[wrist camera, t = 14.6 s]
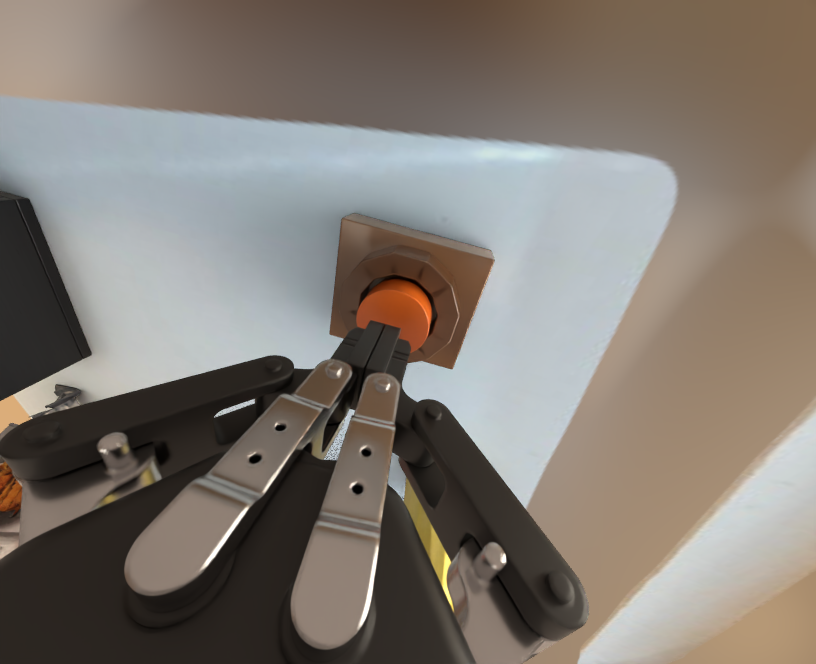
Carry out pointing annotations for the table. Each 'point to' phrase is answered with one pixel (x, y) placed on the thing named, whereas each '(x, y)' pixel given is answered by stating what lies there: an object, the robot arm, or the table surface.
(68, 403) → the meal
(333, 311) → the control block
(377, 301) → the button
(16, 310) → the box
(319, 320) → the table surface
